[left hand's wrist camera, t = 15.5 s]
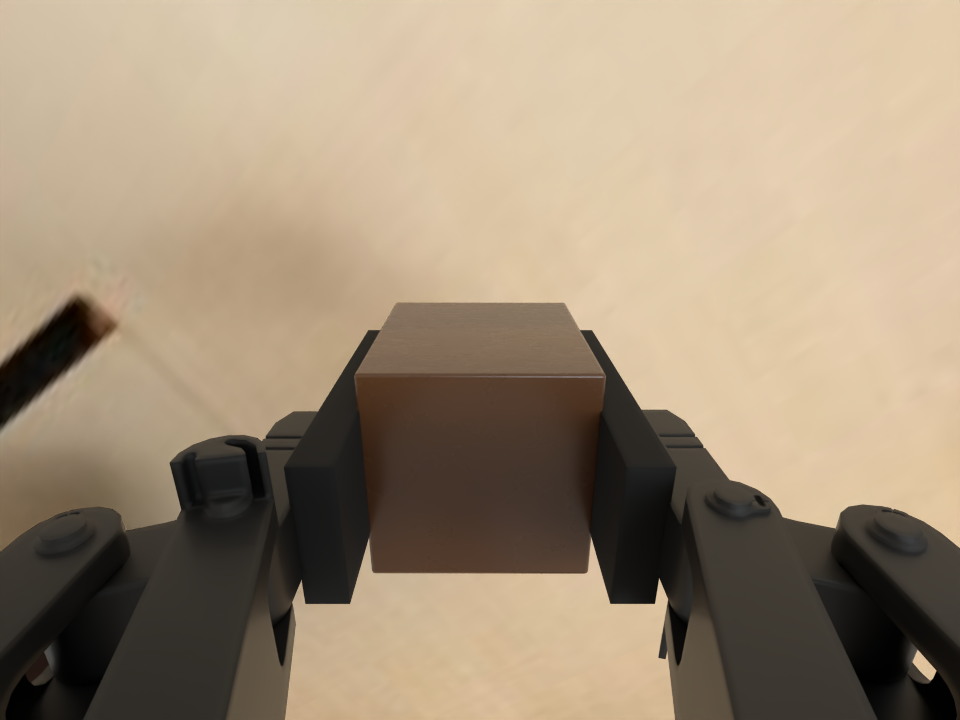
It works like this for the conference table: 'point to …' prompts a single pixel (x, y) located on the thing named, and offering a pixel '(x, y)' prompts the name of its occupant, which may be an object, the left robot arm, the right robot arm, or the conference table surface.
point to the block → (480, 439)
